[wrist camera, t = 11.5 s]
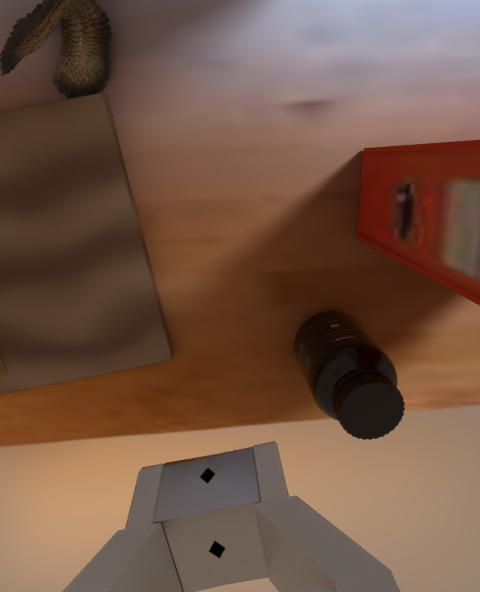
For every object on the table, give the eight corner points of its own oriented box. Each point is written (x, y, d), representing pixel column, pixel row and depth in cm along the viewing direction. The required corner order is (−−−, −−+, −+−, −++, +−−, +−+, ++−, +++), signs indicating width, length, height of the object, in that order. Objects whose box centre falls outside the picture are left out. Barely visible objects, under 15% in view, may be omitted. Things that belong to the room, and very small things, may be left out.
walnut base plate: (-167, 148, 33) (-184, 148, 31) (106, 95, 33) (101, 92, 31) (-50, 397, 40) (-60, 405, 38) (173, 353, 40) (172, 360, 38)
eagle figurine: (-8, -56, 28) (-13, 81, 29) (11, -120, 23) (3, 50, 24) (102, -4, 33) (94, 112, 34) (139, -47, 28) (128, 93, 29)
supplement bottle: (366, 310, 40) (427, 369, 28) (356, 373, 42) (410, 452, 30) (296, 308, 39) (330, 367, 28) (290, 372, 41) (319, 452, 30)
